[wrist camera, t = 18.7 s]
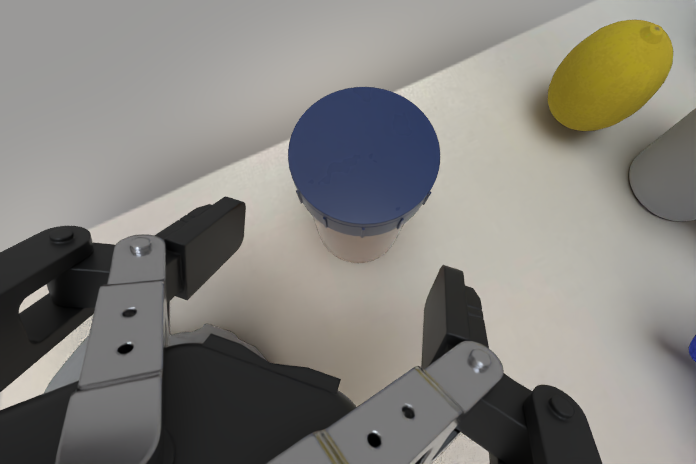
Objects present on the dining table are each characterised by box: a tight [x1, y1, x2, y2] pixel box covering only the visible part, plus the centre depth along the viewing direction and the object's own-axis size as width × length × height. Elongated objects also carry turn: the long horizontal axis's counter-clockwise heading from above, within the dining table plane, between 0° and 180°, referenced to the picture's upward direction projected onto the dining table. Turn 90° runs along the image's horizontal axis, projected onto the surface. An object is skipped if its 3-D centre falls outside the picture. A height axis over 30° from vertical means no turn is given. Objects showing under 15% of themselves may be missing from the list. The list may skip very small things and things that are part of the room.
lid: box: [288, 87, 440, 238], centre depth 14 cm, size 6×6×2 cm
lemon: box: [548, 20, 673, 131], centre depth 22 cm, size 6×6×8 cm
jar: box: [313, 217, 405, 263], centre depth 19 cm, size 6×6×10 cm
